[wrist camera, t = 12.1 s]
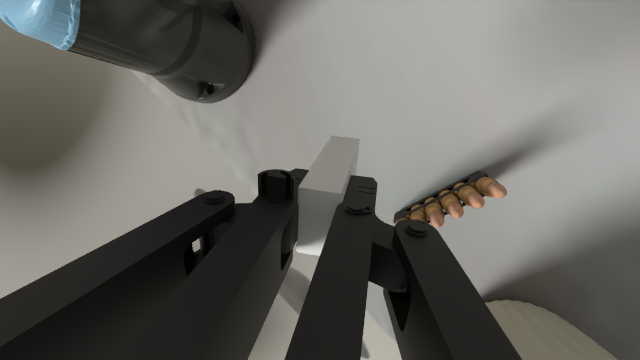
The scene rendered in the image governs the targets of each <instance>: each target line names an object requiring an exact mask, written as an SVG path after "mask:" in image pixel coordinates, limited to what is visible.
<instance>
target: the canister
mask: <svg viewBox="0 0 640 360" xmlns="http://www.w3.org/2000/svg"><path fill="white" fill-rule="evenodd" d="M485 304H486V305H487V307H488V308H489V310H490V311H491V313H492V314H493V316H494V317H495V319H496V320H497V322H498V323H499V325H500V327H501V328H502V330H503V331H504V333H505V334H506V336H507V337H508V339H509V340H510V342H511V343H512V345H513V346H514V348H515V349H516V351H517V352H518V354H519V355H520V357H521V358H522V360H618V359H616V358H615V357H614V356H613V355H611V354H610V353H609V352H608V351H606V350H605V349H604V348H602V347H601V346H600V345H599V344H597V343H596V342H595V341H593V340H592V339H591V338H589V337H588V336H587V335H585V334H584V333H582V332H581V331H580V330H578V329H577V328H576V327H574V326H573V325H571V324H570V323H568V322H567V321H565V320H564V319H562V318H561V317H560V316H558V315H557V314H555V313H553V312H550V311H548V310H546V309H545V308H543V307H540V306H535V305H533V304H531V303H524V302H521V301H518V300H515V301H511V300H503V301H498V300H495V301H493V302H485Z"/></svg>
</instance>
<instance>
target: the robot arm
mask: <svg viewBox="0 0 640 360" xmlns="http://www.w3.org/2000/svg"><path fill="white" fill-rule="evenodd" d="M0 18H1V19H2V20H3V21H4V22H5V23H6V24H7V25H9V26H10V27H11V28H13V29H15V30H16V31H18V32H20V33H22V34H24V35H27V36H30V37H33V38H36V39H38V40H41V41H44V42H47V43H49V44H52V45H53V46H54V47H56V48H58V49H61V50H67V51H70V52H73V53H78V54H80V55H84V56H87V57H91V58H95V59H98V60H101V61H105V62H108V63H112V64H115V65H118V66H122V67H126V68H129V69H132V70H136V71H139V72H143V73H146V74H149V75H151V76H153V77H154V78H155V79H157V80H158V81H159V82H160V83H162V84H163V85H164V86H166V87H167V88H168V89H170V90H171V91H172V92H173V93H175V94H176V95H178V96H180V97H182V98H184V99H187V100H191V101H195V102H199V103H214V102H218V101H221V100H223V99H225V98H227V97H228V96H230V95H231V94H233V93H234V92H235V91H236V90H237V89H238V88H239V87H240V86H241V84H242V83H243V82H244V80H245V78H246V77H247V75H248V73H249V70H250V68H251V65H252V61H253V57H254V49H255V40H254V32H253V28H252V25H251V22H250V19H249V17H248V15H247V14H246V12H245V11H244V9H243V8H242V7H241V6H240V5H239V4H238V3H237V2H236V1H235V0H0ZM359 140H360V139H355V138H346V137H338V136H331V138H330V139H329V141H328V142H327V144H326V145H325V147H324V148H323V150H322V151H321V153H320V155H319V156H318V158H317V159H316V161H315V162H314V164H313V165H312V167H311V168H310V170H304V169H297V168H296V169H294V170H292V171H285V170H277V169H273V170H266V171H263V172H261V173H259V174H258V196H257V197H256V199H255V200H254V201H253V202H252V203H242V204H241V203H236V204H235V198H234V196H233V194H231V193H229V192H226V191H221V190H218V191H217V190H214V191H211V192H206V193H203V194H201V195H199V196H197V197H195V198H193V199H191V200H189V201H187V202H185V203H183V204H181V205H180V206H178V207H176V208H174V209H172V210H170V211H168V212H166V213H164V214H163V215H160V216H158V217H157V218H155V219H153V220H151V221H149V222H147V223H145V224H143V225H141V226H139V227H137V228H135V229H133V230H132V231H130V232H128V233H126V234H124V235H122V236H120V237H118V238H116V239H114V240H112V241H110V242H109V243H107V244H105V245H103V246H101V247H99V248H97V249H95V250H93V251H91V252H89V253H87V254H86V255H84V256H82V257H80V258H78V259H76V260H74V261H72V262H70V263H68V264H66V265H65V266H62V267H61V268H59V269H57V270H55V271H53V272H51V273H49V274H47V275H45V276H43V277H42V278H40V279H38V280H36V281H34V282H32V283H30V284H28V285H26V286H24V287H22V288H20V289H19V290H16V291H15V292H13V293H11V294H9V295H7V296H5V297H3V298H1V299H0V360H247V359H248V357H249V355H250V353H251V350H252V348H253V346H254V344H255V342H256V339H257V337H258V335H259V333H260V331H261V328H262V326H263V323H264V321H265V320H266V317H267V315H268V313H269V310H270V308H271V306H272V304H273V302H274V299H275V297H276V295H277V293H278V291H279V289H280V286H281V284H282V282H283V280H284V278H285V275H286V273H287V271H288V269H289V266H290V264H291V262H292V258H293V247H294V245H295V243H296V241H297V245H296V252H300V253H305V254H311V255H316V256H320V257H319V260H318V263H317V266H316V269H315V272H314V275H313V278H312V281H311V284H310V286H309V289H308V292H307V295H306V298H305V301H304V304H303V307H302V310H301V313H300V316H299V319H298V322H297V325H296V328H295V331H294V333H293V336H292V339H291V342H290V345H289V348H288V351H287V354H286V357H285V360H360V357H361V347H362V338H363V337H362V336H363V327H364V318H365V308H366V298H367V288H368V281H370V282H372V283H375V284H377V285H379V286H381V287H383V294H384V298H385V301H386V305H387V308H388V312H389V315H390V319H391V322H392V326H393V329H394V333H395V336H396V340H397V344H398V347H399V351H400V354H401V358H402V360H522V358H521V357H520V355H519V354H518V352H517V351H516V349H515V348H514V346H513V345H512V343H511V342H510V340H509V339H508V337H507V336H506V334H505V333H504V331H503V330H502V328H501V327H500V325H499V323H498V322H497V320H496V319H495V317H494V316H493V314H492V313H491V311H490V310H489V308H488V307H487V305H486V304H485V302H484V301H483V299H482V298H481V296H480V295H479V293H478V292H477V290H476V289H475V287H474V286H473V284H472V283H471V281H470V279H469V278H468V276H467V275H466V273H465V272H464V270H463V269H462V267H461V266H460V264H459V263H458V261H457V260H456V258H455V257H454V255H453V254H452V252H451V251H450V249H449V248H448V246H447V245H446V243H445V242H444V240H443V239H442V237H441V235H440V234H439V232H438V231H437V230H436V229H435V228H434V227H433V226H431V225H430V224H428V223H426V222H424V221H421V220H414V219H404V220H401V221H399V222H397V224H396V225H395V227H394V226H391V225H389V224H386V223H384V222H383V221H381V220H380V219H379V218H378V217H377V216H376V215H375V202H376V192H377V182H376V181H375V180H374V178H370V177H362V176H355V175H356V166H357V158H358V149H359ZM198 238H199V240H200V249H199V250H198V251H196V252H194V251H193V247H192V242H194V241H195V240H197V239H198Z"/></svg>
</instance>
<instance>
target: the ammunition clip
mask: <svg viewBox="0 0 640 360" xmlns="http://www.w3.org/2000/svg"><path fill="white" fill-rule="evenodd" d="M484 176H486V177H484ZM506 194H507V191H506V189H505V187H504V186H502V185H501V184H499V183H498V182H497V181H496V180H494V179H491V178H488V175H487V174H485V173H483V172H480V171H477V172H475V173H473V174H471V175H469V176H467V177H465V178H463V179H461V180H459V181H457V182H455V183H453V184H451V185H449V186H448V187H446V188H444V189H442V190H440V191H438V192H436V193H434V194H432V195H430V196H428V197H426V198H424V199H422V200H420V201H418V202H416V203H414V204H412V205H410V206H408V207H407V208H405V209H403V210H401V211H399V212H397V213H395V215H394V223H396V224H397V222H399V221H401V220H404V219H414V220H421V221H424V222H426V223H430V222H431V224H432V225H433V226H435V227H441V226H442V225H443V223H444V216H445V215H447V214H450V215H451V216H453V217H454V218H460V217H462V216H463V213H464V211H463V208H462V207H463V206H465V205H468V206H472V207H474V208H481V207H483V206H484V203H485V201H484V199H483V197H484V196H488V197H495V198H502V197H504V196H506ZM460 200H461V201H462V202H463V204H462V203H461V202H460ZM443 209H444V210H445V211H446V212H444V211H443ZM427 219H428V221H427ZM396 224H395V225H396Z"/></svg>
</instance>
